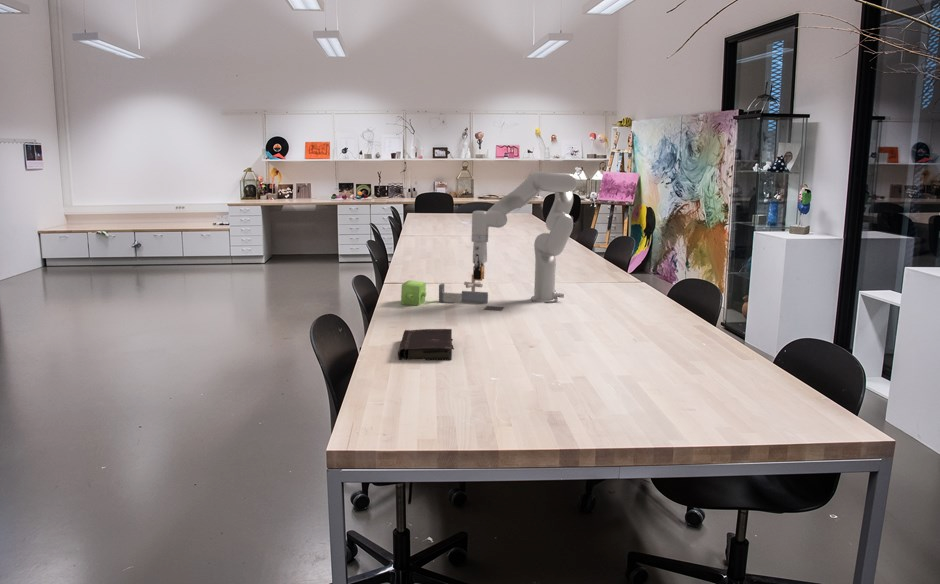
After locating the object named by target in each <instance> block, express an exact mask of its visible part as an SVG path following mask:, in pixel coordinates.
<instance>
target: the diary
mask: <svg viewBox="0 0 940 584" xmlns="http://www.w3.org/2000/svg"><path fill="white" fill-rule="evenodd" d="M452 331H453V330H452V328H424V329H421V328H420V329H405V330H404V331H403V334H402V336H401V337H402V338H401V341H400V343H399V348H398V351H397V358H398V360H399V361H401V360H402V357H403V358H404V360H407V359H408V360H425V361H450V360H452V359H453V356H452V355H453V354H452V353H453V350H455V348H454V346H453V340H454V339H453V337H452V336H453V335H452V333H453V332H452Z"/></svg>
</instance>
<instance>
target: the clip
mask: <svg viewBox="0 0 940 584" xmlns="http://www.w3.org/2000/svg"><path fill="white" fill-rule="evenodd" d="M472 270H473V271H472V274H473V280H475V282H483V280H484V279H485V264H484V265H481V269H480V270H481V279H474V265H473V267H472Z"/></svg>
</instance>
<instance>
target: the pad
mask: <svg viewBox="0 0 940 584" xmlns="http://www.w3.org/2000/svg"><path fill="white" fill-rule="evenodd" d="M504 308H505V306H493V305H486V306H485V307H484V308H483V309H482V310H483V311H494V312H495V311H499V312H502V311H503V309H504Z"/></svg>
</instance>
